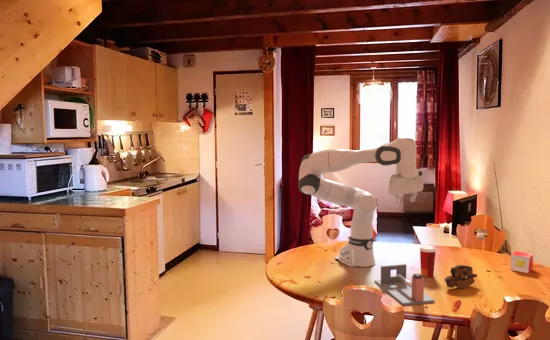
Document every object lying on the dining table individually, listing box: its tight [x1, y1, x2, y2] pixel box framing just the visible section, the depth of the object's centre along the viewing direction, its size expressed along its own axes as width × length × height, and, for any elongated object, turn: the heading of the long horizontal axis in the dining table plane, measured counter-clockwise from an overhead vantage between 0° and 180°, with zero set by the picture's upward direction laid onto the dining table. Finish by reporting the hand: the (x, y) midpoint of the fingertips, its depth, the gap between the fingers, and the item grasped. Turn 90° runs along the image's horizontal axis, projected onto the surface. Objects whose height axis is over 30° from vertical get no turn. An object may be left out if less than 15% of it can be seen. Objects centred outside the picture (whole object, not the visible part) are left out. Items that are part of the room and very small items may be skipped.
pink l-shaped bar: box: [395, 273, 425, 302], centre depth 190 cm, size 19×4×10 cm, turn 11°
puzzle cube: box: [510, 250, 534, 274], centre depth 222 cm, size 8×8×8 cm
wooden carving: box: [444, 264, 478, 289], centre depth 199 cm, size 16×5×10 cm, turn 114°
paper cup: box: [418, 245, 437, 278], centre depth 215 cm, size 8×8×14 cm
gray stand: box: [374, 263, 436, 306], centre depth 195 cm, size 28×14×9 cm, turn 11°
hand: (405, 202), depth 204 cm, fingers open, 8 cm apart
